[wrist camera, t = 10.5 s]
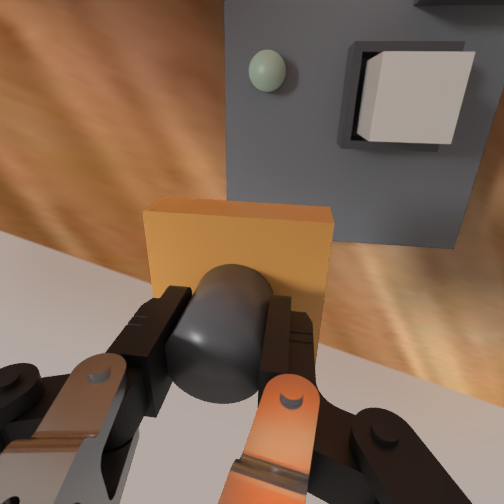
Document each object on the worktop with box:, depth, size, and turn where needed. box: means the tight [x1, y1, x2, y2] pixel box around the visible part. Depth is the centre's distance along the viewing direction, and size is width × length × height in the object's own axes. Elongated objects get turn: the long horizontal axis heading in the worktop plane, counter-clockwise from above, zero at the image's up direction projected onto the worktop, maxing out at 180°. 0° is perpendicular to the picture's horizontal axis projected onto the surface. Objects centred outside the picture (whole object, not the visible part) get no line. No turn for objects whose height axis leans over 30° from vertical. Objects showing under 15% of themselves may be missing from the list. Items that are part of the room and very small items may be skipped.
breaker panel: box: [224, 0, 504, 249], centre depth 22 cm, size 18×22×6 cm
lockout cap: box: [142, 197, 334, 404], centre depth 12 cm, size 7×7×5 cm
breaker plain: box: [356, 51, 475, 144], centre depth 18 cm, size 4×4×4 cm
